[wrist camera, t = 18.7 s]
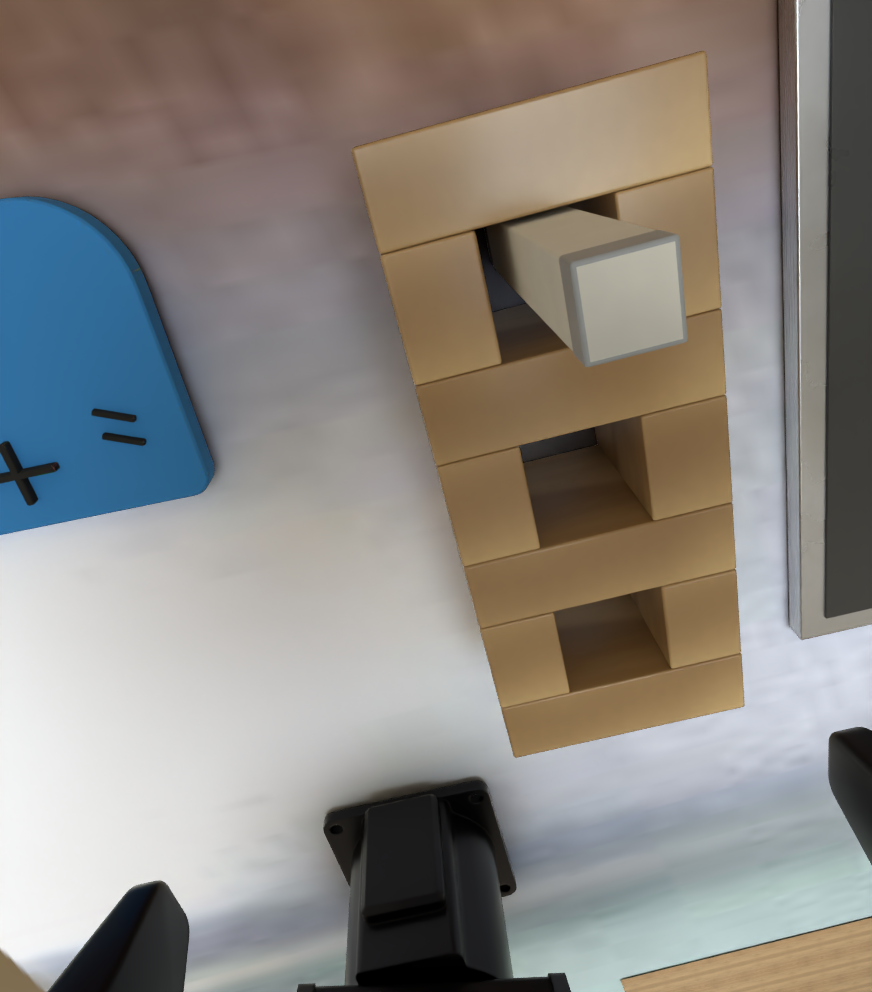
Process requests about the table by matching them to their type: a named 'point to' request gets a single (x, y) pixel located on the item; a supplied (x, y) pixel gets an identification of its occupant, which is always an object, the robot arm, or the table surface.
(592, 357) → the grey square stick
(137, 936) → the robot arm
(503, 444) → the pen stand
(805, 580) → the tablet
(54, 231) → the handheld gaming device
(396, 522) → the table surface
